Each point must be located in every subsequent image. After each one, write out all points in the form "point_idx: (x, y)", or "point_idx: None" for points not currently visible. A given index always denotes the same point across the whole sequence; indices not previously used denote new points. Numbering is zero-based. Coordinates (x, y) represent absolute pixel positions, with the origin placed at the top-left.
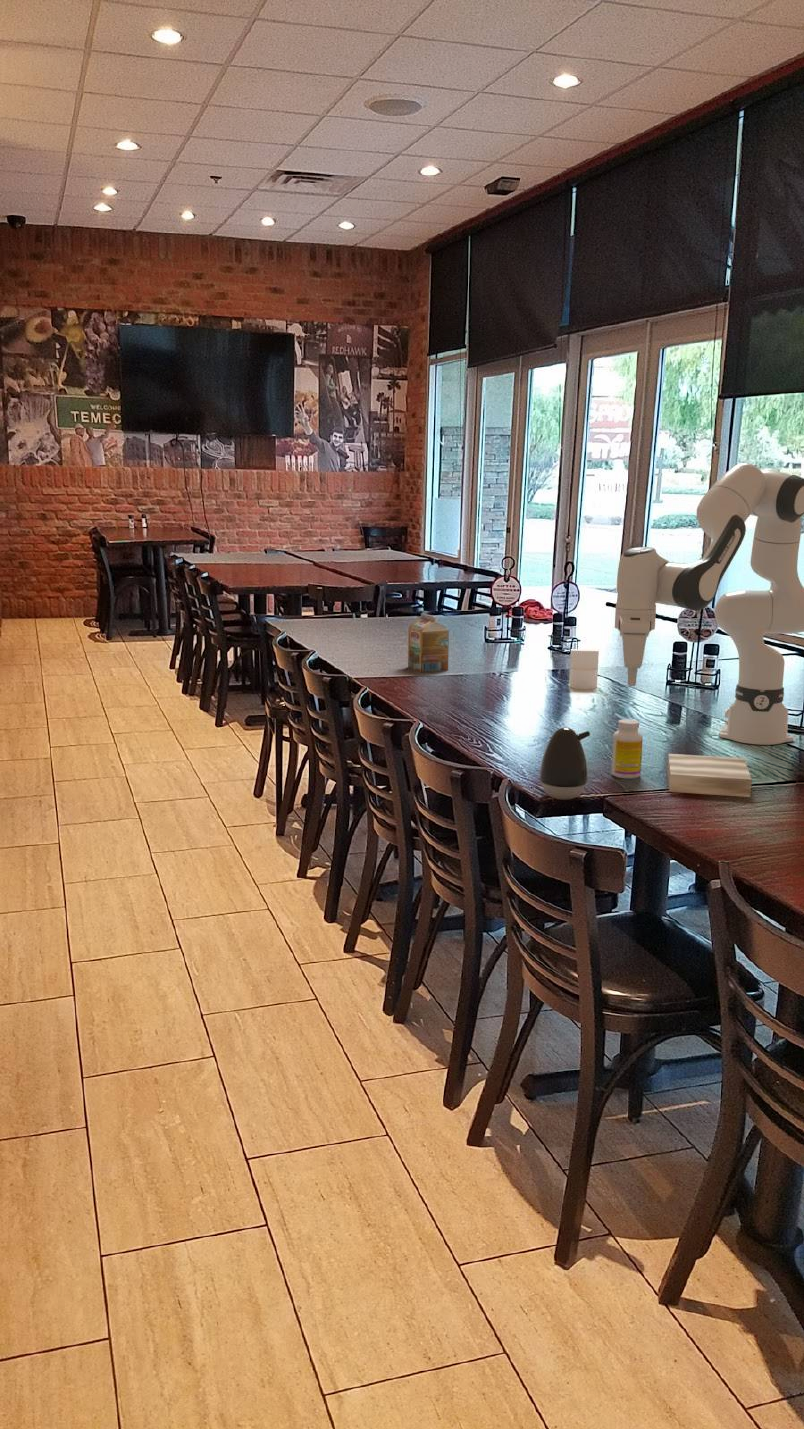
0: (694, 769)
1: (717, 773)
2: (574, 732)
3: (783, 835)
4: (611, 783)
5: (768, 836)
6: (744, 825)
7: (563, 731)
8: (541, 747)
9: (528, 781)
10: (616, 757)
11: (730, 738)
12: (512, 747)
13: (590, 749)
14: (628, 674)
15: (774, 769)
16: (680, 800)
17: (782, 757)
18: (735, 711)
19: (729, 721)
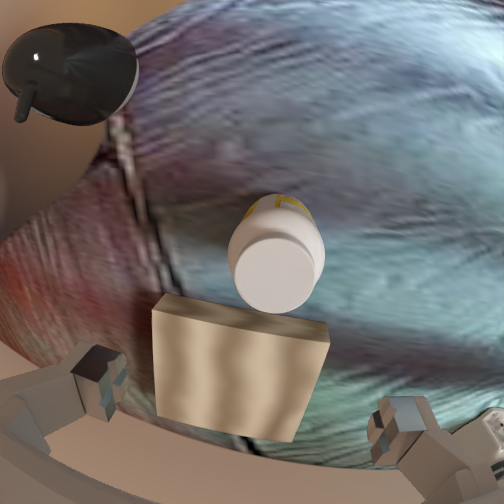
0: (197, 361)
1: (178, 387)
2: (8, 82)
3: (42, 363)
4: (208, 183)
5: (33, 348)
6: (52, 341)
7: (4, 57)
8: (490, 86)
9: (209, 12)
10: (253, 207)
11: (475, 420)
12: (477, 30)
13: (486, 188)
14: (23, 377)
15: (322, 453)
16: (120, 297)
17: None
18: (488, 450)
19: (489, 434)
